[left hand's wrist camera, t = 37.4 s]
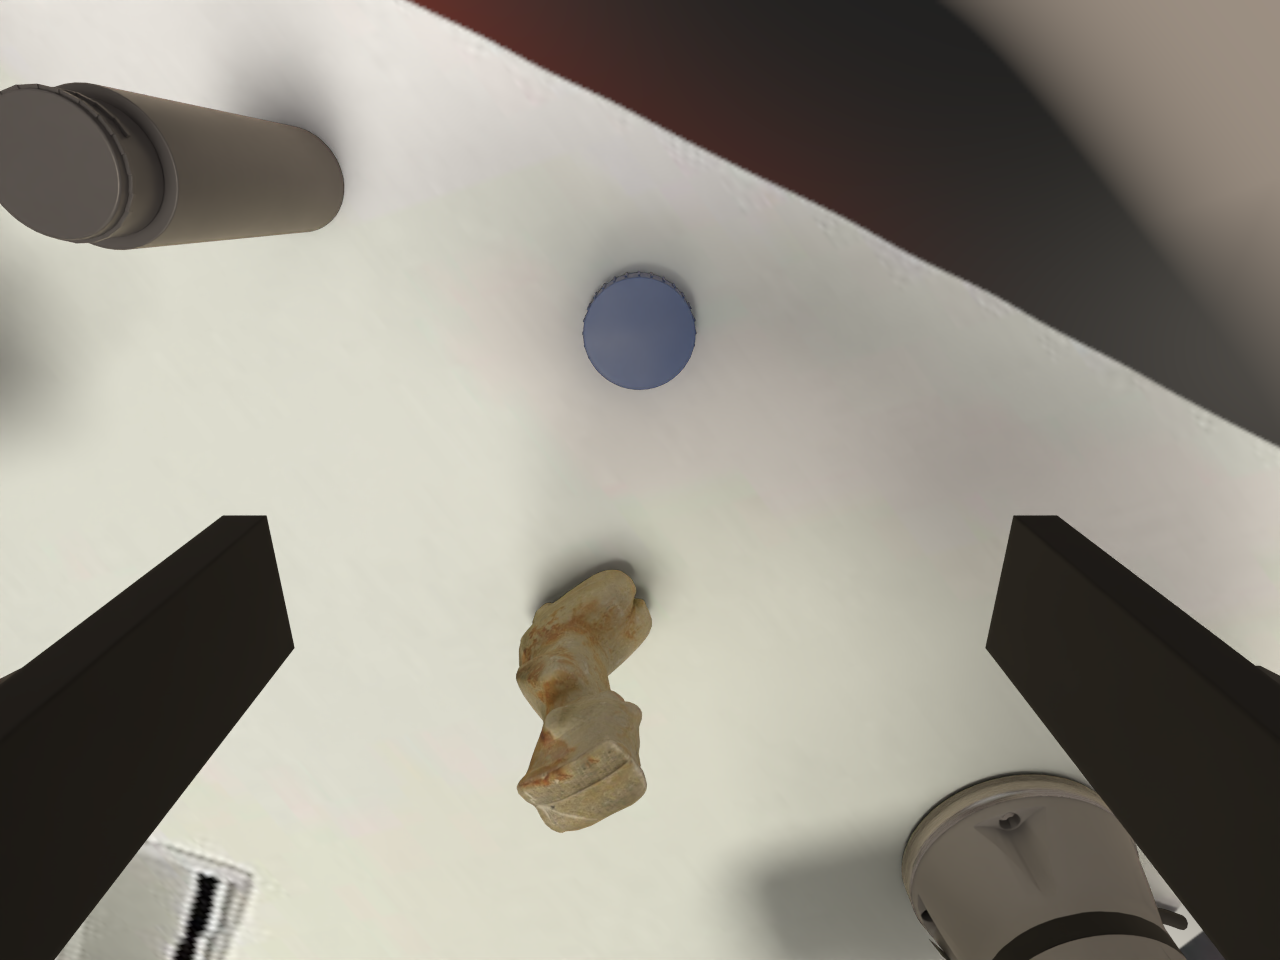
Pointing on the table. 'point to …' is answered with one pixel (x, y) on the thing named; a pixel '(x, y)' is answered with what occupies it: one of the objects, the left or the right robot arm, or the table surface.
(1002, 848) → the left robot arm
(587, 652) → the sculpture
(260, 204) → the jar
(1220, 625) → the table surface
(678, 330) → the lid
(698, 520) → the table surface
